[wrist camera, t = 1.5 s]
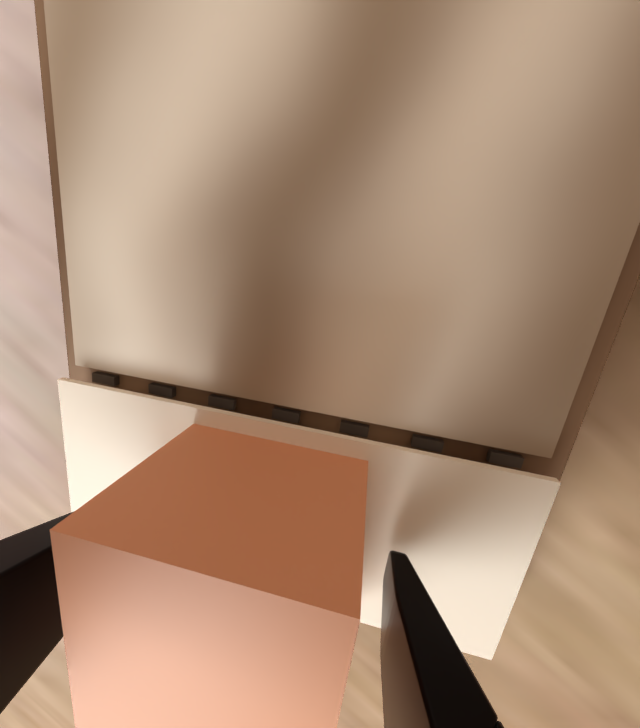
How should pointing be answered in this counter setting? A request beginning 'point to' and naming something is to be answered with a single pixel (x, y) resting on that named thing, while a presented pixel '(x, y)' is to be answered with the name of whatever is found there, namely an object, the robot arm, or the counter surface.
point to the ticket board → (350, 210)
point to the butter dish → (261, 558)
